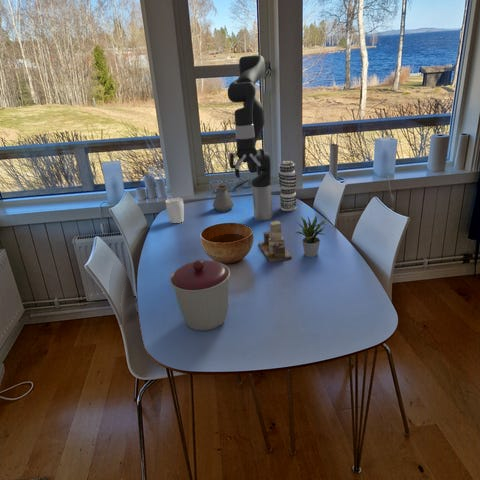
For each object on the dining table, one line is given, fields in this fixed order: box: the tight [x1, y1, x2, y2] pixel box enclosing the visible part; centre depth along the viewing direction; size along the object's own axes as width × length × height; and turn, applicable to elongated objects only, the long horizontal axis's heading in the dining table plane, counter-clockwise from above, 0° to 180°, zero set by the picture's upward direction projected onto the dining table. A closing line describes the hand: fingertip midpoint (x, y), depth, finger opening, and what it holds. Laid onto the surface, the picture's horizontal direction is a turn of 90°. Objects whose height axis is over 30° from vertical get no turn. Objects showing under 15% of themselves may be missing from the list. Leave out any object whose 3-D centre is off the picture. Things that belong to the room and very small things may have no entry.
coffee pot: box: [212, 179, 250, 212], centre depth 220 cm, size 21×12×15 cm, turn 97°
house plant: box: [294, 215, 330, 258], centre depth 159 cm, size 14×14×16 cm
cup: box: [165, 196, 185, 224], centre depth 208 cm, size 9×9×12 cm
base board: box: [258, 231, 293, 263], centre depth 167 cm, size 18×9×6 cm, turn 12°
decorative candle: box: [277, 160, 298, 212], centre depth 210 cm, size 9×9×25 cm
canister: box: [169, 259, 231, 332], centre depth 123 cm, size 18×18×21 cm
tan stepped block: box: [269, 220, 285, 254], centre depth 162 cm, size 3×6×13 cm, turn 102°
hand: (248, 176), depth 166 cm, fingers open, 8 cm apart
